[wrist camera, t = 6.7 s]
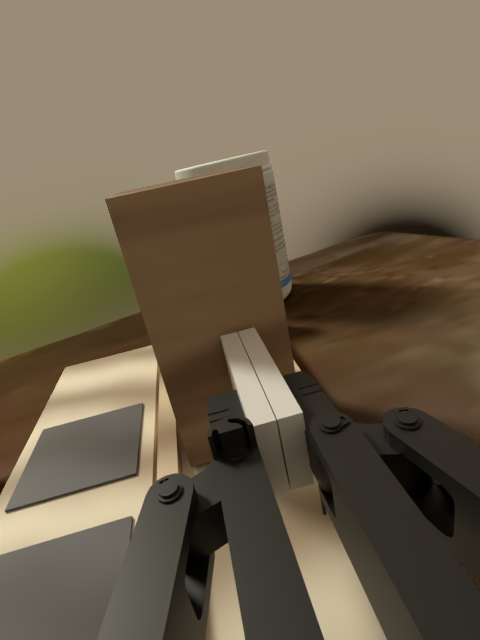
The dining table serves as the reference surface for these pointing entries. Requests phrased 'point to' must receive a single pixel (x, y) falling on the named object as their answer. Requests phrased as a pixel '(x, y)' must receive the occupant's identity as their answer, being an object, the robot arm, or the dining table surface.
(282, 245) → the supplement tub
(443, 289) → the dining table surface
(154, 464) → the box
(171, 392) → the walnut block
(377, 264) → the dining table surface
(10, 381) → the dining table surface
